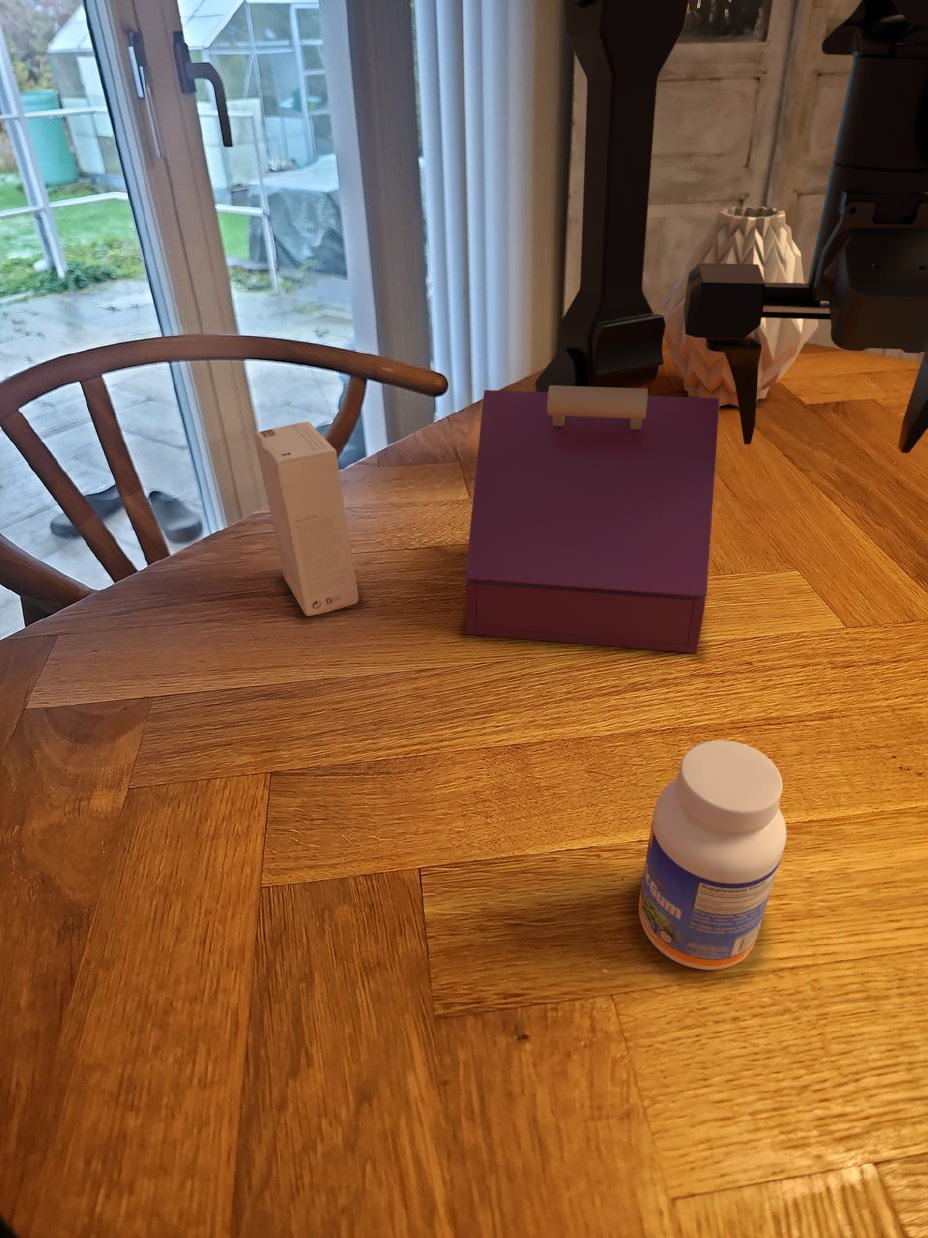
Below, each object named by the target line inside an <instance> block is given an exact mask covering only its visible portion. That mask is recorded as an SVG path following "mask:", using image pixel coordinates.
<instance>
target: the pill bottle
mask: <svg viewBox="0 0 928 1238" xmlns="http://www.w3.org/2000/svg"><path fill="white" fill-rule="evenodd" d="M783 785H784V784H783V778H782V775H781V773H780V771H779V769H778V767H777V766H776V764H775V763H774V762H773V761H772V760H771V759H770V758H769V757H768V756H767V755H765V754H764V753H763V752H761V751H760V750H758V749H756V748H754V747H752V746H750V745H747V744H744V743H741V742H737V741H734V740H733V741H732V740H723V739H722V740H720V739H718V740H709V741H704V742H700V743H699V744H696V745H694V746H693V747H692V748H690V749H689V750H688V751H687V752H686V753H684V756H683V758H682V759H681V760H680V765H679V769H678V773H677V777H676V778H675V779H673V780H672V781H670V782H669V783H668V784H666V786H665V787H663V789H662V791H661V792H660V794H659V795H658V797H657V798H656V802H655V805H654V809H653V814H652V819H651V826H650V830H649V831H650V832H649V838H648V844H647V851H646V854H645V855H646V857H645V862H644V869H643V875H642V880H641V885H640V886H641V887H640V892H639V901H638V914H639V920H640V923H641V926H642V929H643V931H644V933H645V935H646V937H647V938H648V939H649V941H650V942H651V943H652V945H653V946H654V947H655V948H656V949H657V950H659V951H660V952H661V953H662V954H663V955H664V956H666V957H667V958H669V959H670V960H672V961H674V962H676V963H678V964H681V965H683V966H685V967H689V968H694V969H698V970H708V971H710V970H711V971H712V970H713V971H714V970H721V969H727V968H729V967H730V968H731V967H732V966H734V965H736V964H738V963H740V962H741V961H742V960H744V959H745V958H747V956H748V955H749V953H750V952H751V951H752V949H753V947H754V946H755V943H756V941H757V938H758V935H759V932H760V928H761V926H762V925H761V924H762V921H763V919H764V915H765V911H766V909H767V904H768V901H769V898H770V895H771V892H772V889H773V886H774V883H775V880H776V877H777V873H778V870H779V868H780V864H781V861H782V857H783V854H784V850H785V847H786V844H787V836H788V835H787V826H786V822H785V821H786V820H785V817H784V815H783V813H782V811H781V809H780V808H779V807H780V802H781V798H782V793H783V789H784V788H783Z"/></svg>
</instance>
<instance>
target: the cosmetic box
mask: <svg viewBox="0 0 928 1238" xmlns="http://www.w3.org/2000/svg"><path fill="white" fill-rule="evenodd" d="M253 438H254V443H255V449H256V453H257V458H258V463H259V467H260V472H261V476H262V482H263V486H264V491H265V495H266V500H267V504H268V509H269V513H270V518H271V522H272V526H273V532H274V536H275V541H276V546H277V550H278V555H279V560H280V565H281V569H282V573H283V578H284V580H285V582H286V584H287V586H288V587H289V589H290V591H291V592H292V594H293V596H294V597H295V600H296V601H297V603H298V605H299V607H300V608H301V610H302V612H303V614H304V615H305V616H306V617H311V616H315V615H316V616H317V615H321V614H325V613H329V612H332V611H336V610H340V609H343V608H347V607H350V606H353V605H356V604H358V602H359V591H358V584H357V578H356V577H357V576H356V573H355V565H354V557H353V552H352V547H351V539H350V533H349V527H348V520H347V513H346V507H345V500H344V494H343V488H342V482H341V476H340V470H339V463H338V455H337V453H338V452H337V450H336V448H335V447H333V445H332V444H330V443H329V441H328V440H327V439H325V437H323V435H322V434H321V433H320V432H319V431H318V430H317V429H316V428H315V426H314V425H313V424H312V423H311V422H310V421H303V422H297V423H293V424H289V425H284V426H279V427H274V428H270V429H266V430H262V431H257V432H254V435H253Z"/></svg>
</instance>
